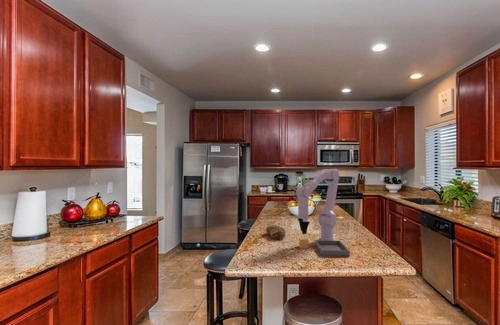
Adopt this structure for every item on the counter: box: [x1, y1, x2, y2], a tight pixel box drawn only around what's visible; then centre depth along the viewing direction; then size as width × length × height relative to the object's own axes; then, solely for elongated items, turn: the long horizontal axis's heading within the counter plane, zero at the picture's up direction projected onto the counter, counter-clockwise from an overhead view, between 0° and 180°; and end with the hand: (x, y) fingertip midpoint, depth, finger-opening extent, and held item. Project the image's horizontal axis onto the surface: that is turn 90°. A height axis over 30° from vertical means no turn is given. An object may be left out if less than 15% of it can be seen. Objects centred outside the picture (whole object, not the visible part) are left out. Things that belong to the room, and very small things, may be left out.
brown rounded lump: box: [265, 225, 286, 241], centre depth 191 cm, size 13×8×20 cm
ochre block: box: [298, 237, 309, 249], centre depth 165 cm, size 5×5×5 cm
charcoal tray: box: [314, 239, 351, 258], centre depth 157 cm, size 20×14×3 cm
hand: (303, 232), depth 165 cm, fingers open, 7 cm apart
